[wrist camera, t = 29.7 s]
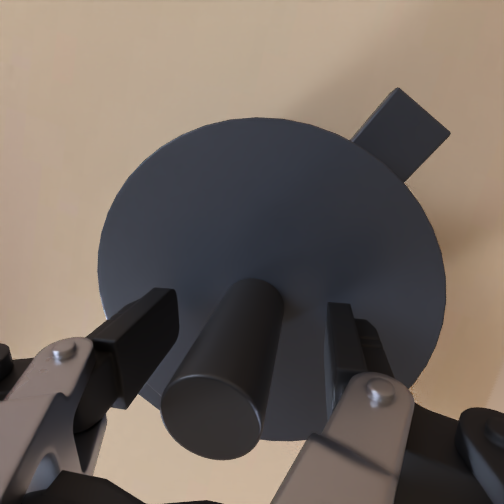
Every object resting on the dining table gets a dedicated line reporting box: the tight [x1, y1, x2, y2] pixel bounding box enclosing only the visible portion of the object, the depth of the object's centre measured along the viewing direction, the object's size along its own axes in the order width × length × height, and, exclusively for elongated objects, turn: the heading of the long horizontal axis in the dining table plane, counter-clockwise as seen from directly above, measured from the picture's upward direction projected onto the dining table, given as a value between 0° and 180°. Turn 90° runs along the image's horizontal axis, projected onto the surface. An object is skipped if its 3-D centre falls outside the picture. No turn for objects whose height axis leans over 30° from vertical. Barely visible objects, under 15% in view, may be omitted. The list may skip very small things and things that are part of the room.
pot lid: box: [97, 117, 446, 460], centre depth 10 cm, size 14×14×7 cm
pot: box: [138, 87, 451, 410], centre depth 17 cm, size 13×18×10 cm
